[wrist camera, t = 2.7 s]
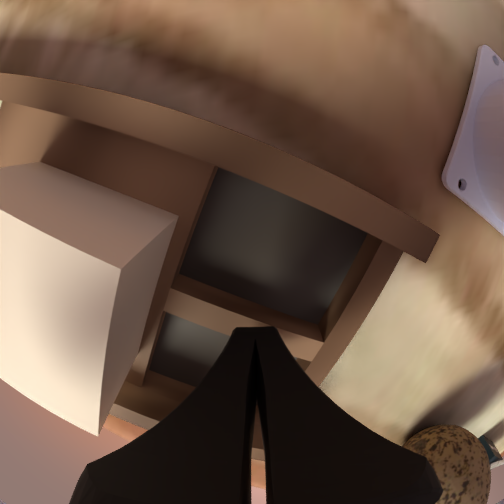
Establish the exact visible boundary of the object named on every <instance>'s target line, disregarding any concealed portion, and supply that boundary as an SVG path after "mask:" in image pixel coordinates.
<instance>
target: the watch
mask: <svg viewBox="0 0 504 504" xmlns="http://www.w3.org/2000/svg"><path fill="white" fill-rule="evenodd" d="M478 440H479V441H480V442H481V443H482V445H483V446H484V448H485V450H486V452H487V455H488V458H489V463H490V469H491V470H492V469H493V468H494V467H497V466H500V465H504V460H503V459H502V457H501V455H500V453H499V452H498V450H497V448H496V447H495V445H494V444H493V442H492V441H490V440H489V439H487V438H486V437H485V436H483V435H482V436H481V437H480V438H478Z"/></svg>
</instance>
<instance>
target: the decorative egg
mask: <svg viewBox="0 0 504 504" xmlns="http://www.w3.org/2000/svg"><path fill="white" fill-rule="evenodd" d="M402 447H404V448H406V449H408V450H411V451H413V452H415V453H418V454H420V455H422V456H425V457H426V458H427V459H428V461H429V463H430V464H431V466H432V467H433V469H434V471H435V473H436V474H437V476H438V479H439V481H440V483H441V486H442V488H443V493H442V496H441V498H440V499H439V500H438V501H437V502H436V503H435V504H486V503H487V500H488V496H489V491H490V483H491V469H490V463H489V458H488V455H487V452H486V450H485V448H484V446H483V445H482V443H481V442H480V441H479V440H478V438H477V437H476V436H475V435H473V434H472V433H471V432H469V431H468V430H466V429H464V428H462V427H459V426H455V425H436V426H432V427H429V428H426V429H424V430H422V431H420V432H418V433H417V434H415V435H414V436H413V437H411V438H410V439H409V440H408V441H407V442H406V443H405V444H404V445H403V446H402Z"/></svg>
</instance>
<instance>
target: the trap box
mask: <svg viewBox="0 0 504 504" xmlns="http://www.w3.org/2000/svg"><path fill="white" fill-rule="evenodd" d="M34 162H42V163H44V164H47V165H50V166H52V167H55V168H57V169H60V170H63V171H65V172H68V173H70V174H73V175H75V176H78V177H81V178H83V179H86V180H88V181H91V182H93V183H96V184H99V185H101V186H104V187H106V188H109V189H111V190H114V191H117V192H119V193H122V194H124V195H127V196H129V197H132V198H134V199H137V200H140V201H142V202H145V203H147V204H150V205H152V206H155V207H157V208H160V209H162V210H165V211H167V212H170V213H173V214H175V215H178V216H179V217H178V220H177V223H176V226H175V229H174V232H173V234H172V237H171V240H170V243H169V247H168V250H167V253H166V256H165V259H164V262H163V265H162V269H161V272H160V275H159V278H158V282H157V285H156V288H155V292H154V295H153V299H152V302H151V306H150V309H149V313H148V317H147V320H146V324H145V328H144V332H143V336H142V339H141V343H140V347H139V352H138V354H137V356H136V358H135V360H134V362H133V364H132V366H131V368H130V370H129V372H128V374H127V376H126V378H125V380H124V383H123V385H122V387H121V389H120V391H119V393H118V395H117V397H116V399H115V401H114V403H113V405H112V408H111V410H110V412H109V414H111V415H113V416H115V417H117V418H120V419H122V420H124V421H127V422H129V423H132V424H134V425H137V426H139V427H142V428H144V429H147V430H149V429H151V428H152V427H154V426H155V425H156V424H158V423H159V422H160V421H161V420H163V419H164V418H165V417H166V416H167V415H168V414H169V413H171V412H172V411H173V410H174V409H175V408H176V407H177V406H178V405H179V404H180V403H181V402H182V401H183V400H184V399H185V398H186V397H187V396H188V395H189V394H190V393H191V392H192V391H193V390H194V389H195V388H196V386H197V385H198V384H199V383H200V382H201V380H202V379H203V378H204V377H205V375H206V374H207V373H208V371H209V370H210V369H211V367H212V366H213V365H214V363H215V362H216V360H217V359H218V357H219V355H220V354H221V352H222V351H223V349H224V347H225V346H226V344H227V342H228V340H229V338H230V336H231V334H232V331H233V330H234V329H235V328H236V327H266V326H274V327H276V328H277V329H278V332H279V334H280V336H281V338H282V340H283V341H284V343H285V345H286V346H287V348H288V350H289V351H290V353H291V354H292V355H293V357H294V358H295V360H296V361H297V362H298V364H299V365H300V366H301V368H302V369H303V370H304V371H305V373H306V374H307V375H308V376H309V377H310V378H311V380H312V381H313V382H314V383H315V384H316V385H317V386H319V385H320V384H321V382H322V381H323V380H324V378H325V377H326V376H327V374H328V373H329V372H330V370H331V369H332V367H333V366H334V365H335V363H336V362H337V360H338V359H339V357H340V356H341V355H342V353H343V352H344V350H345V349H346V347H347V346H348V344H349V343H350V341H351V340H352V338H353V337H354V335H355V334H356V332H357V331H358V329H359V328H360V326H361V324H362V323H363V321H364V320H365V318H366V316H367V315H368V313H369V312H370V310H371V308H372V307H373V305H374V303H375V302H376V300H377V298H378V297H379V295H380V293H381V291H382V290H383V288H384V286H385V284H386V283H387V281H388V279H389V277H390V276H391V274H392V272H393V270H394V268H395V266H396V265H397V263H398V261H399V259H400V257H401V255H402V253H403V251H404V252H406V253H408V254H410V255H412V256H413V257H415V258H417V259H419V260H421V261H423V262H424V263H426V262H427V260H428V258H429V256H430V254H431V252H432V250H433V248H434V246H435V244H436V242H437V240H438V238H439V236H440V235H439V234H438V233H436V232H435V231H433V230H432V229H430V228H428V227H427V226H425V225H424V224H422V223H420V222H419V221H417V220H415V219H414V218H412V217H410V216H409V215H407V214H405V213H404V212H402V211H400V210H399V209H397V208H395V207H393V206H392V205H390V204H388V203H386V202H385V201H383V200H381V199H379V198H377V197H376V196H374V195H372V194H370V193H368V192H366V191H365V190H363V189H361V188H359V187H357V186H355V185H353V184H351V183H349V182H347V181H345V180H344V179H342V178H340V177H338V176H336V175H334V174H332V173H330V172H327V171H325V170H323V169H321V168H319V167H317V166H315V165H313V164H311V163H309V162H306V161H304V160H302V159H300V158H298V157H296V156H293V155H291V154H289V153H287V152H284V151H282V150H280V149H277V148H275V147H273V146H270V145H268V144H266V143H263V142H261V141H258V140H256V139H254V138H251V137H249V136H246V135H244V134H241V133H238V132H236V131H233V130H231V129H228V128H225V127H223V126H220V125H217V124H214V123H212V122H209V121H206V120H203V119H200V118H197V117H195V116H192V115H189V114H186V113H183V112H179V111H176V110H173V109H170V108H167V107H164V106H160V105H157V104H154V103H150V102H147V101H143V100H140V99H136V98H132V97H129V96H125V95H121V94H117V93H113V92H109V91H105V90H101V89H96V88H92V87H87V86H83V85H78V84H73V83H68V82H63V81H57V80H51V79H45V78H39V77H32V76H25V75H17V74H8V73H0V168H2V167H8V166H14V165H20V164H27V163H34ZM251 459H255V460H261V461H265V455H264V447H263V440H262V433H261V425H260V418H259V410H258V403H257V404H256V414H255V425H254V434H253V444H252V455H251Z"/></svg>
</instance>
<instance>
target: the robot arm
mask: <svg viewBox="0 0 504 504" xmlns="http://www.w3.org/2000/svg"><path fill="white" fill-rule="evenodd" d="M493 61H494V62H493ZM459 180H461V187H460V189H459V187H458V182H459ZM442 182H443V185H444V186H445V187H446V189H448V190H449V191H450V192H452V193H453V194H454V195H456V196H457V197H458V198H460V199H461V200H462V201H463V202H465V203H466V204H467V205H468V206H470V207H471V208H472V209H473V210H474V211H476V212H477V213H478V214H479V215H480V216H481V217H483V218H484V219H485V220H486V221H487V222H488V223H490V224H491V225H492V226H493V227H494V228H495V229H496V230H497V231H498V232H499V233H501V234H502V235H503V236H504V61H503V60H502V59H501V58H500V57H499V56H498V55H497V54H496V53H495V52H494V51H493V50H492V49H491V48H490V47H489V46H487V45H485V44H484V45H481V46H479V48H478V51H477V57H476V62H475V66H474V71H473V76H472V80H471V84H470V88H469V92H468V96H467V100H466V103H465V107H464V110H463V114H462V117H461V120H460V124H459V127H458V130H457V133H456V136H455V139H454V142H453V145H452V148H451V151H450V154H449V156H448V159H447V162H446V164H445V167H444V170H443V173H442ZM257 403H258V410H259V418H260V425H261V433H262V440H263V447H264V455H265V471H266V502H267V503H266V504H435V503H436V502H437V501H438V500H439V499H440V498H441V496H442V493H443V488H442V486H441V483H440V481H439V479H438V476H437V474H436V473H435V471H434V469H433V467H432V466H431V464H430V463H429V461H428V459H427V458H426V457H425V456H422V455H420V454H418V453H415V452H413V451H411V450H408V449H406V448H404V447H401V446H399V445H397V444H395V443H393V442H391V441H389V440H387V439H385V438H384V437H382V436H380V435H378V434H377V433H375V432H373V431H372V430H370V429H369V428H367V427H366V426H364V425H363V424H361V423H360V422H359V421H357V420H356V419H354V418H353V417H351V416H350V415H349V414H347V413H346V412H345V411H344V410H342V409H341V408H340V407H339V406H338V405H337V404H335V403H334V402H333V401H332V400H331V399H330V398H329V397H328V396H327V395H326V394H325V393H324V392H323V391H322V390H321V389H320V388H319V387H318V386H317V385H316V384H315V383H314V382H313V381H312V380H311V378H310V377H309V376H308V375H307V374H306V373H305V371H304V370H303V369H302V368H301V366H300V365H299V364H298V362H297V361H296V360H295V358H294V357H293V355H292V354H291V353H290V351H289V350H288V348H287V346H286V345H285V343H284V341H283V340H282V338H281V336H280V334H279V332H278V329H277V328H276V327H274V326H266V327H236V328H235V329H234V330H233V331H232V334H231V336H230V338H229V340H228V342H227V344H226V346H225V347H224V349H223V351H222V352H221V354H220V355H219V357H218V359H217V360H216V362H215V363H214V365H213V366H212V367H211V369H210V370H209V371H208V373H207V374H206V375H205V377H204V378H203V379H202V380H201V382H200V383H199V384H198V385H197V386H196V388H195V389H194V390H193V391H192V392H191V393H190V394H189V395H188V396H187V397H186V398H185V399H184V400H183V401H182V402H181V403H180V404H179V405H178V406H177V407H176V408H175V409H174V410H173V411H172V412H171V413H169V414H168V415H167V416H166V417H165V418H164V419H163V420H161V421H160V422H159V423H158V424H156V425H155V426H154V427H152V428H151V429H149V430H148V431H146V432H145V433H144V434H142V435H141V436H139V437H138V438H136V439H135V440H133V441H132V442H130V443H129V444H127V445H125V446H124V447H122V448H120V449H118V450H116V451H114V452H112V453H110V454H108V455H106V456H104V457H102V458H100V459H98V460H96V461H93V462H91V463H89V464H87V466H86V468H85V469H84V471H83V473H82V474H81V476H80V478H79V480H78V482H77V485H76V487H75V490H74V492H73V495H72V498H71V500H70V503H69V504H251V455H252V444H253V434H254V425H255V414H256V404H257ZM0 504H6V503H4V502H3V501H1V500H0ZM496 504H504V499H503V500H501V501H500V502H498V503H496Z"/></svg>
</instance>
